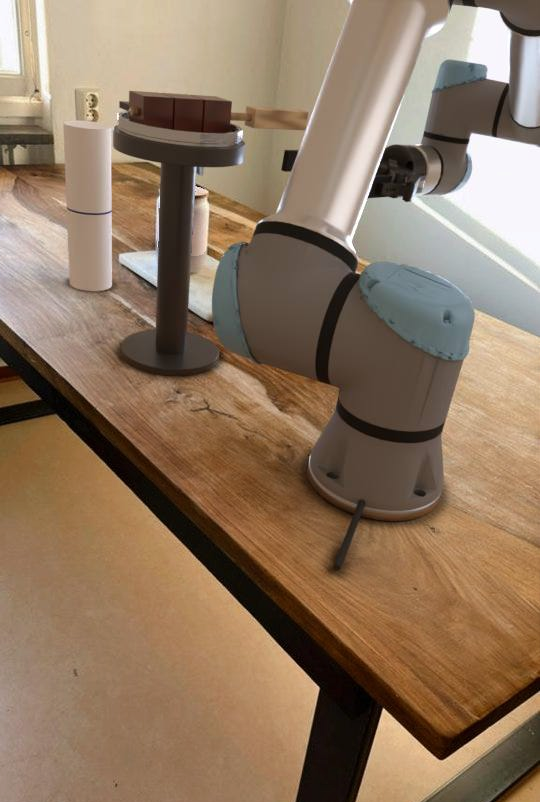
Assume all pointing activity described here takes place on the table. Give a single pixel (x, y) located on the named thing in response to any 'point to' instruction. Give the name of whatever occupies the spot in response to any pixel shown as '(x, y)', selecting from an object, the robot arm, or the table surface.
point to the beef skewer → (207, 113)
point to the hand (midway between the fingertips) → (320, 173)
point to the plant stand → (174, 239)
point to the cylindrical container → (88, 204)
